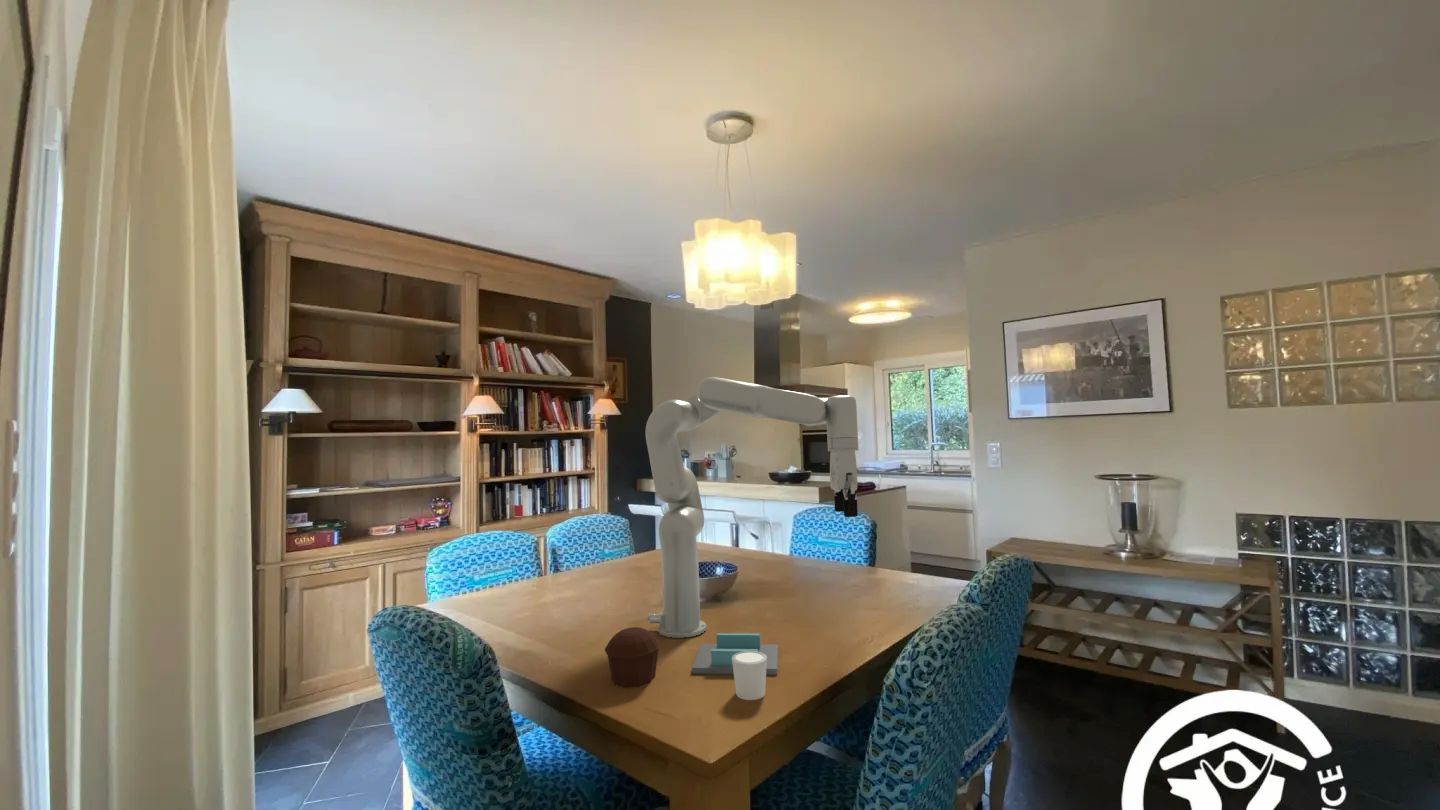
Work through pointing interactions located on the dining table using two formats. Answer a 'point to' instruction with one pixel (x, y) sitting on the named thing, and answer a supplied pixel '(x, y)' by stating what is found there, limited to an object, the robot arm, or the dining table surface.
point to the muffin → (632, 657)
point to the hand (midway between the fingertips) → (845, 513)
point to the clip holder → (732, 653)
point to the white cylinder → (749, 674)
